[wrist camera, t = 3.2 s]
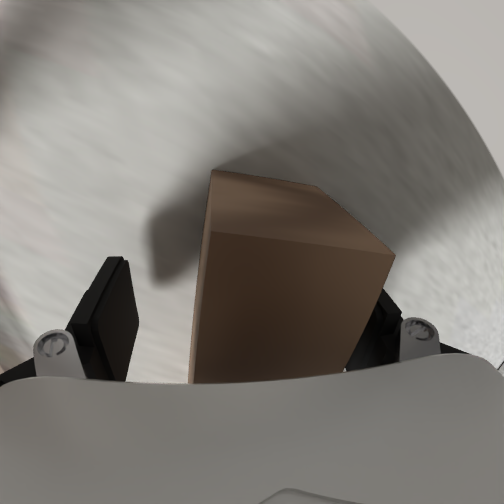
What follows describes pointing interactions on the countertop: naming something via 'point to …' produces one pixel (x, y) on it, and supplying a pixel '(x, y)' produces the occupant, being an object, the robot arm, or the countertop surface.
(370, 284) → the brown block
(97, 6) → the countertop surface
